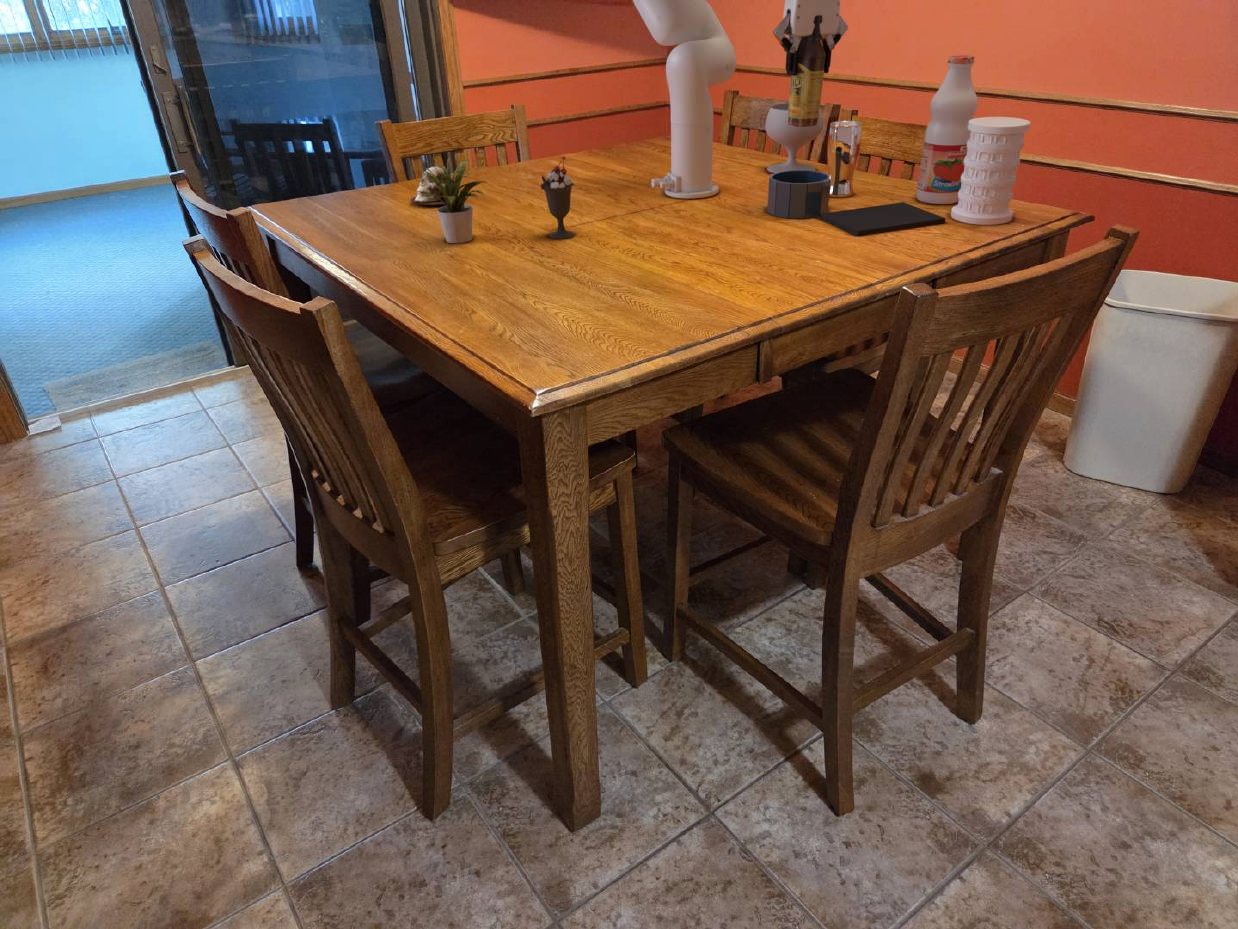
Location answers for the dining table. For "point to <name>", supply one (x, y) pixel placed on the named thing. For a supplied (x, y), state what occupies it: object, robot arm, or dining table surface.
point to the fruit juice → (947, 134)
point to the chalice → (790, 137)
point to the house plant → (454, 203)
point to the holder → (798, 194)
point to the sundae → (558, 198)
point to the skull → (429, 188)
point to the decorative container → (990, 170)
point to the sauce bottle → (807, 80)
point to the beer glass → (843, 156)
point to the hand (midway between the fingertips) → (807, 72)
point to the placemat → (881, 218)
